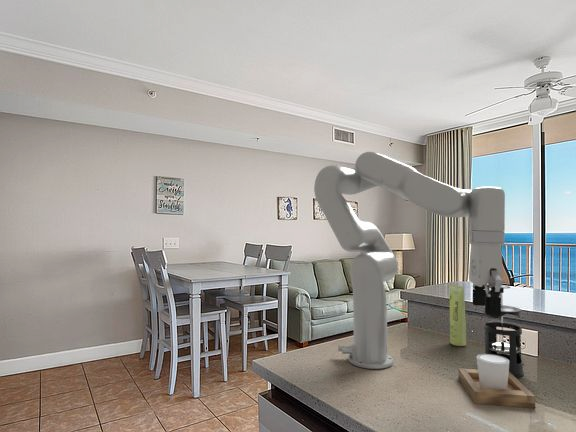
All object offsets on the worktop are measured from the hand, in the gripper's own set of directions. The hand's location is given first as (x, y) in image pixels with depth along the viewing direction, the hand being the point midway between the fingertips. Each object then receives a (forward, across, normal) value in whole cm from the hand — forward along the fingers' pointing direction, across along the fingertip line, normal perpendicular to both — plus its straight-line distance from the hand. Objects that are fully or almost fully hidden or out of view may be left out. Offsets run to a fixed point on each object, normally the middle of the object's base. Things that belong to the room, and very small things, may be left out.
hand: (485, 309), depth 89 cm
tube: (+20, -36, +2) cm, 41 cm away
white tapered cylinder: (+18, +2, +1) cm, 18 cm away
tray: (+19, +1, +2) cm, 19 cm away
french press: (+19, -14, +8) cm, 25 cm away
